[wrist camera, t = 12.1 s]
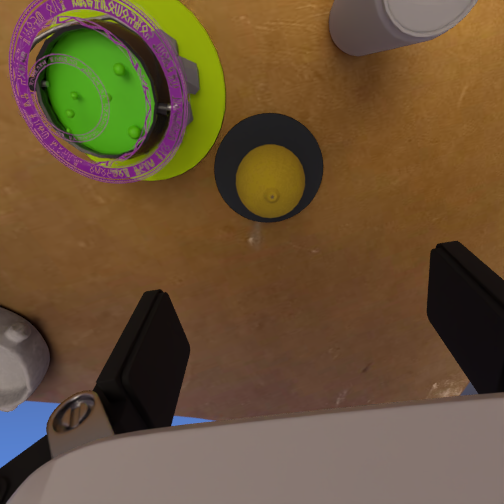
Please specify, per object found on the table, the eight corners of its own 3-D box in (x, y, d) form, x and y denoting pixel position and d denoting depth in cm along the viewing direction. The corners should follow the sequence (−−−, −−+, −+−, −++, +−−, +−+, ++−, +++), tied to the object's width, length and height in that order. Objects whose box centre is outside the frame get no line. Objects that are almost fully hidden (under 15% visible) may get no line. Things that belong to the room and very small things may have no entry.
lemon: (293, 200, 31) (303, 237, 24) (235, 193, 30) (228, 228, 23) (304, 141, 28) (319, 162, 21) (241, 133, 28) (236, 151, 21)
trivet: (192, 160, 29) (191, 161, 29) (282, 86, 26) (282, 86, 26) (257, 238, 33) (257, 240, 33) (342, 181, 30) (343, 183, 30)
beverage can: (387, 54, 25) (479, 36, 15) (326, 59, 25) (373, 46, 15) (396, -25, 23) (512, -113, 12) (328, -18, 23) (385, -98, 13)
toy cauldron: (238, 1, 24) (224, -51, 14) (215, 192, 31) (195, 244, 21) (32, -43, 23) (-136, -132, 13) (56, 165, 30) (-40, 206, 20)
